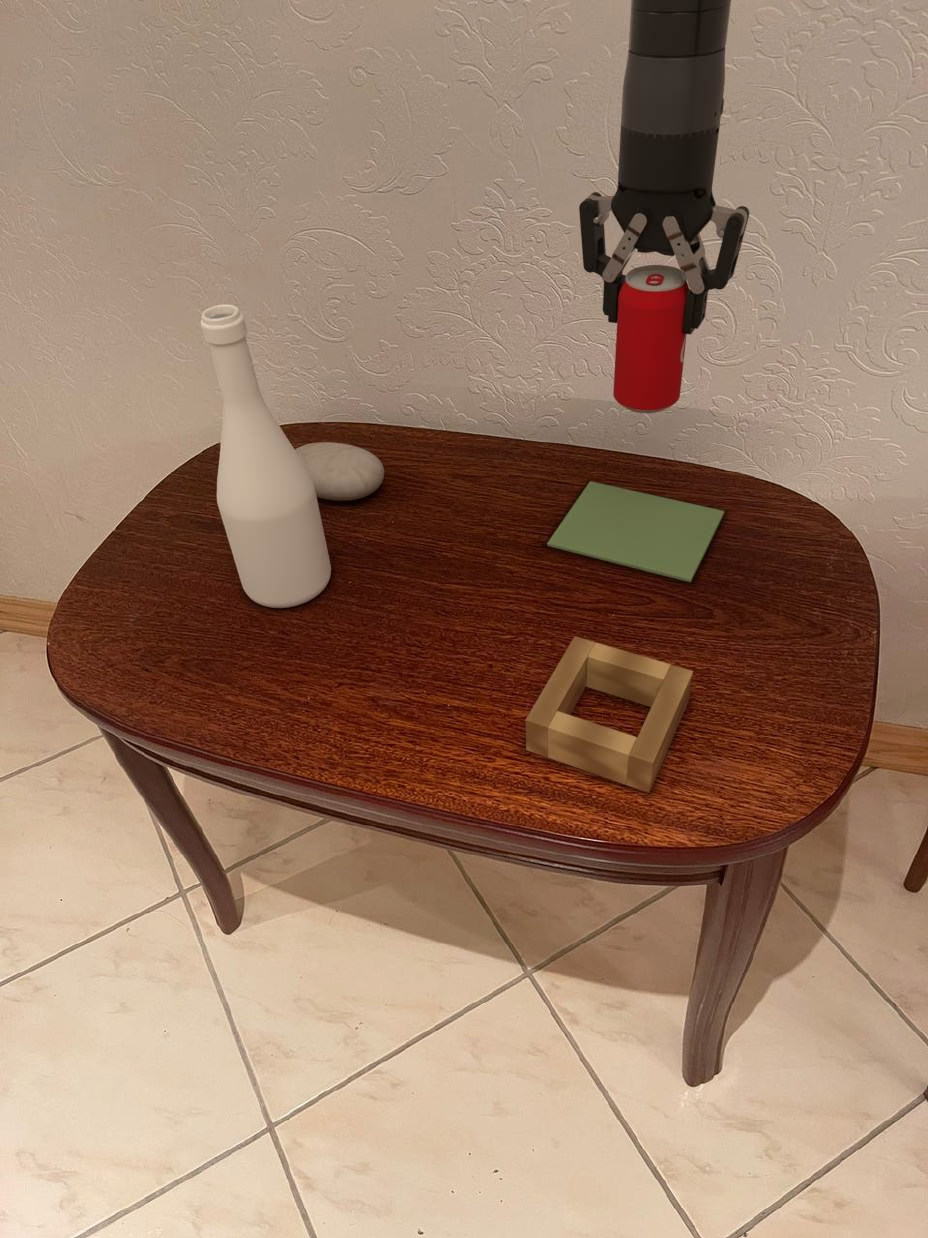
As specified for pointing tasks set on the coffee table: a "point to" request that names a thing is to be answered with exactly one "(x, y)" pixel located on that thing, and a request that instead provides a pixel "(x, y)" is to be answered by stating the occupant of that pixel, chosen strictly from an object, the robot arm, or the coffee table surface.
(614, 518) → the pad
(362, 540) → the coffee table surface
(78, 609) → the coffee table surface
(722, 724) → the coffee table surface
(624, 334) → the beverage can
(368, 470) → the decorative stone
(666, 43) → the robot arm
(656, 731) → the stand
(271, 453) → the wine bottle
